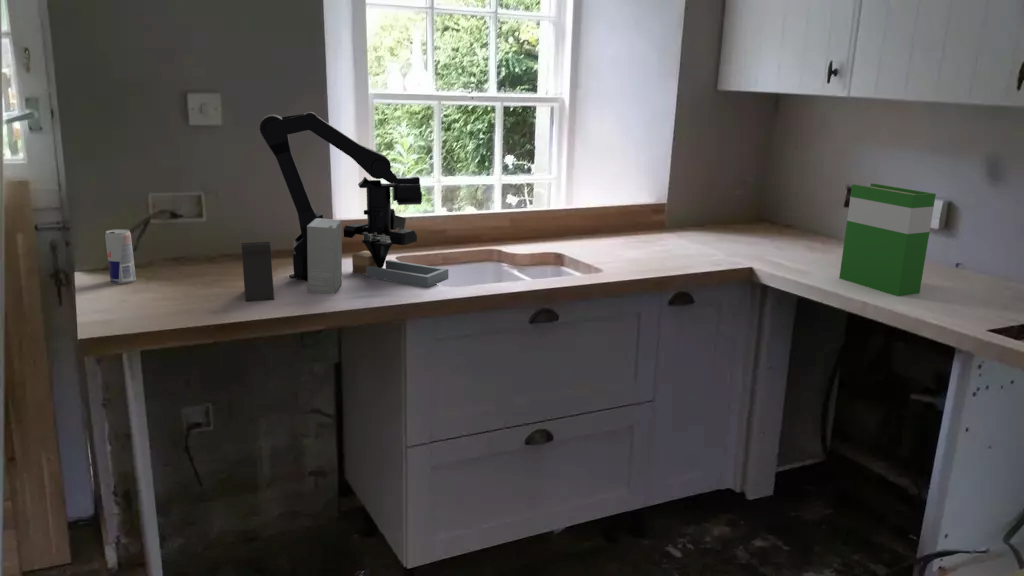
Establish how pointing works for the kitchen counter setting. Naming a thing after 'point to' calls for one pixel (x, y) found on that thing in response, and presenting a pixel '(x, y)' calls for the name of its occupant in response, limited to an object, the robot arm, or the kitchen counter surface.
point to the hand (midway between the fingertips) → (380, 267)
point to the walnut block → (362, 261)
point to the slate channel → (408, 273)
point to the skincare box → (324, 255)
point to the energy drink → (120, 256)
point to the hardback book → (887, 238)
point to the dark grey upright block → (257, 271)
